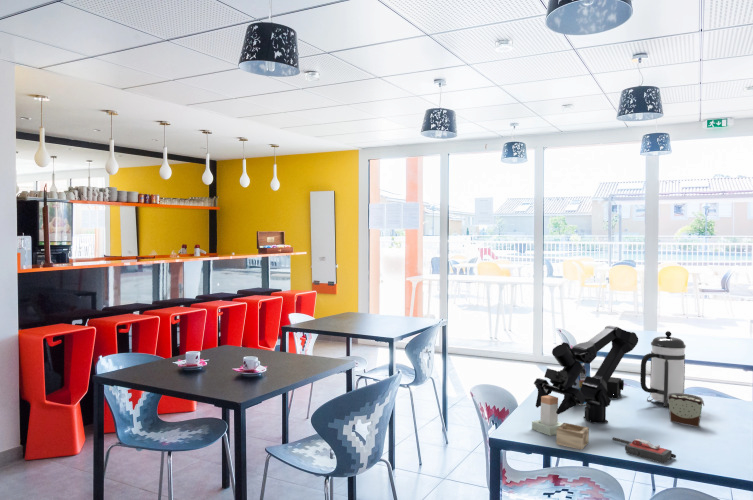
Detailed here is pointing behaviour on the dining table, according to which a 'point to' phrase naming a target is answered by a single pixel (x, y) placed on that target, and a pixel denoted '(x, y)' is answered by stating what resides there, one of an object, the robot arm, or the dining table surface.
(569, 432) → the box
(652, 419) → the dining table surface
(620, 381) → the digital camera
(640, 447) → the walkie-talkie
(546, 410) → the plug
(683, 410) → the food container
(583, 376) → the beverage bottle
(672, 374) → the coffee press
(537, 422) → the tray
